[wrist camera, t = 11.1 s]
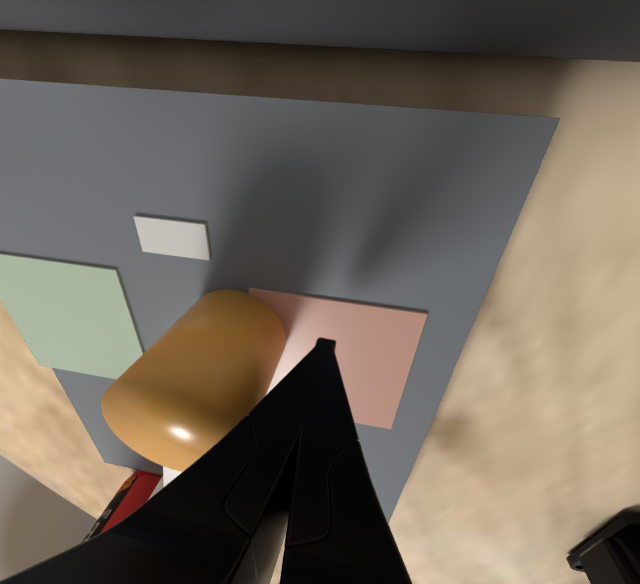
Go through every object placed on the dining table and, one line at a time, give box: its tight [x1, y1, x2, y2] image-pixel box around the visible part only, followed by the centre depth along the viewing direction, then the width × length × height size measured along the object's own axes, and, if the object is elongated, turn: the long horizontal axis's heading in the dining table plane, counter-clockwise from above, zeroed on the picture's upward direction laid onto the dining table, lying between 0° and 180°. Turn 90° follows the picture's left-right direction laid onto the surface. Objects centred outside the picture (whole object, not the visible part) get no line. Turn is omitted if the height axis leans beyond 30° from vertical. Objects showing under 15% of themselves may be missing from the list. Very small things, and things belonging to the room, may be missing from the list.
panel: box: [0, 79, 560, 523], centre depth 13 cm, size 18×20×2 cm
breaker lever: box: [101, 289, 286, 500], centre depth 11 cm, size 14×4×4 cm, turn 164°
